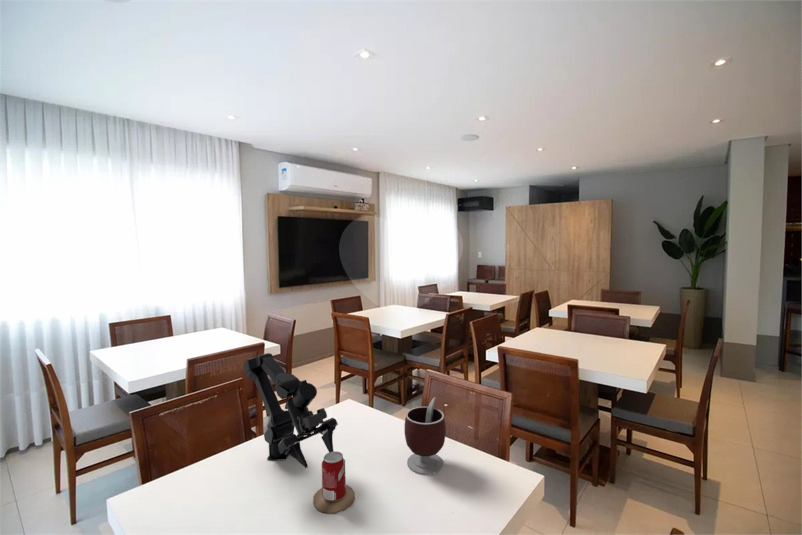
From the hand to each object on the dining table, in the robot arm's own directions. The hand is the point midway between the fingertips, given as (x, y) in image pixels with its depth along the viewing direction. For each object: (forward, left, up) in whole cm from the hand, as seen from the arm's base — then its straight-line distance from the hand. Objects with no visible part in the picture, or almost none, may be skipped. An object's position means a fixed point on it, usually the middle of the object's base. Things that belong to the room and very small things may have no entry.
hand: (320, 460), depth 113 cm
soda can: (+5, -4, -8) cm, 11 cm away
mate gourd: (+33, +14, -9) cm, 37 cm away
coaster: (+5, -5, -9) cm, 11 cm away
